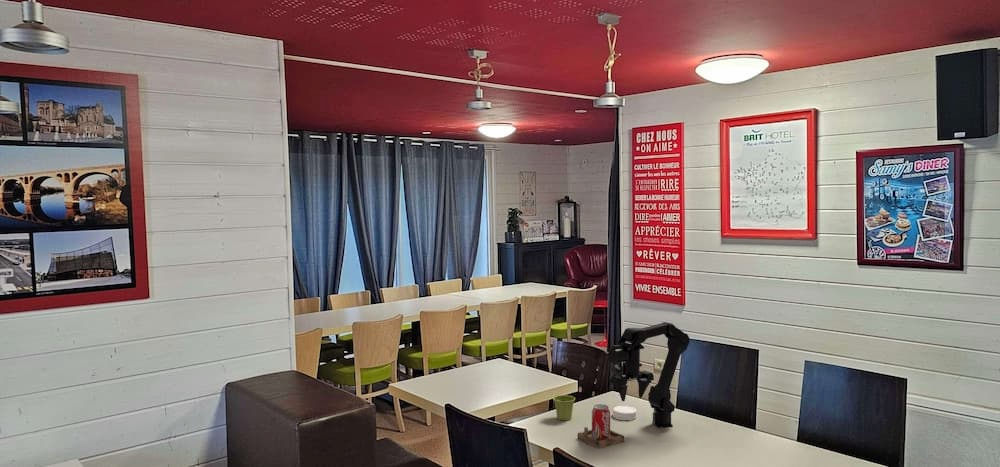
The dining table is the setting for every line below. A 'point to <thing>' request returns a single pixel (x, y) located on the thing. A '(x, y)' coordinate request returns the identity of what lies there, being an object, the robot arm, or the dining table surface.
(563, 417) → the plant pot
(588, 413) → the dining table surface
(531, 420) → the dining table surface
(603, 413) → the soda can
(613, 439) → the caddy
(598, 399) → the dining table surface
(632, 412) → the coaster
